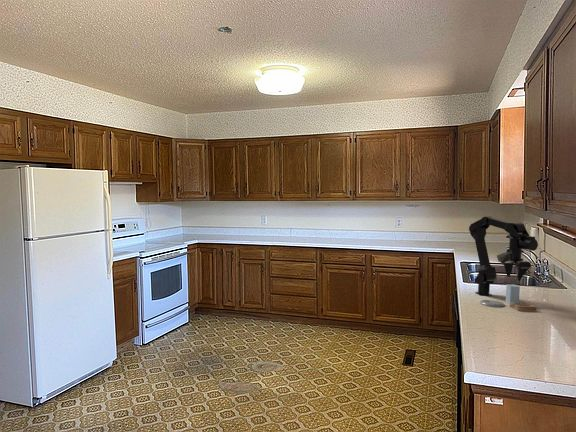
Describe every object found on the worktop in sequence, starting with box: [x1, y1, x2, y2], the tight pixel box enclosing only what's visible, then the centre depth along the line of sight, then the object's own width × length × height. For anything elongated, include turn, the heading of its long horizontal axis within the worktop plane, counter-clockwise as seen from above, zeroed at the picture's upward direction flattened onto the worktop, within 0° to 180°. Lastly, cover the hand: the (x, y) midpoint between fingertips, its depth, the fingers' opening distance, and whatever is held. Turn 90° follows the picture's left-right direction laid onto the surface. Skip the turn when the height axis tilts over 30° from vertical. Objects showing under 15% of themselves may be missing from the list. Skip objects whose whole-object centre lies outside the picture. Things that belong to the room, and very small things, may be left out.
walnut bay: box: [509, 301, 537, 312], centre depth 216 cm, size 8×8×2 cm
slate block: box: [505, 284, 521, 305], centre depth 226 cm, size 4×4×9 cm
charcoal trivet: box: [479, 299, 505, 308], centre depth 223 cm, size 11×11×1 cm
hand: (513, 278), depth 225 cm, fingers open, 9 cm apart
